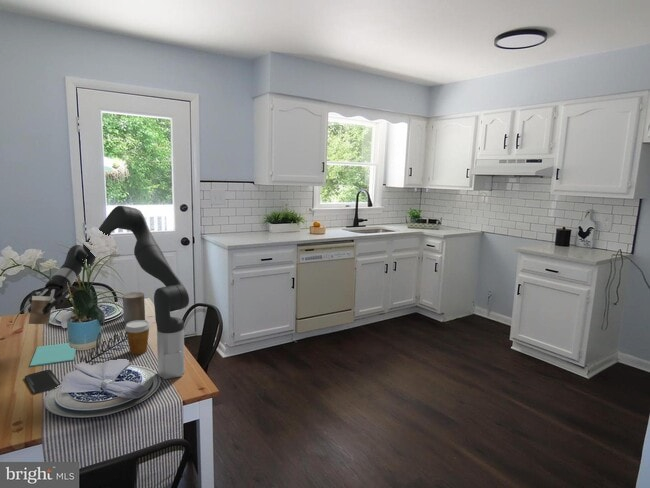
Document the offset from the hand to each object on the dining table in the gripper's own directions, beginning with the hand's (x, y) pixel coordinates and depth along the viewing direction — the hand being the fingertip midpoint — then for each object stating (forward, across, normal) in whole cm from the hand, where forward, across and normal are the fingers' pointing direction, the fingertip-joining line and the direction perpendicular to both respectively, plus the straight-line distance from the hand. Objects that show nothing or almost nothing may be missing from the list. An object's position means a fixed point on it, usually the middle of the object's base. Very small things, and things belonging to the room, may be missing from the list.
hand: (37, 312), depth 150 cm
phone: (+19, +7, +15) cm, 25 cm away
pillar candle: (-35, +13, +41) cm, 55 cm away
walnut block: (+2, 0, +4) cm, 5 cm away
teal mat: (-1, -2, +24) cm, 24 cm away
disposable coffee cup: (-5, +29, +27) cm, 40 cm away
